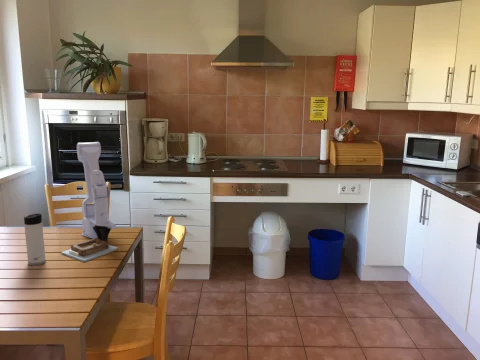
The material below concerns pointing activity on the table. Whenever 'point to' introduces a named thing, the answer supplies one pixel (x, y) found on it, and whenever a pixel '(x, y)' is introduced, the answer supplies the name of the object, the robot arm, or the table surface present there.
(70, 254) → the wall board
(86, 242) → the frame
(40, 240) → the travel mug
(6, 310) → the table surface
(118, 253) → the table surface
